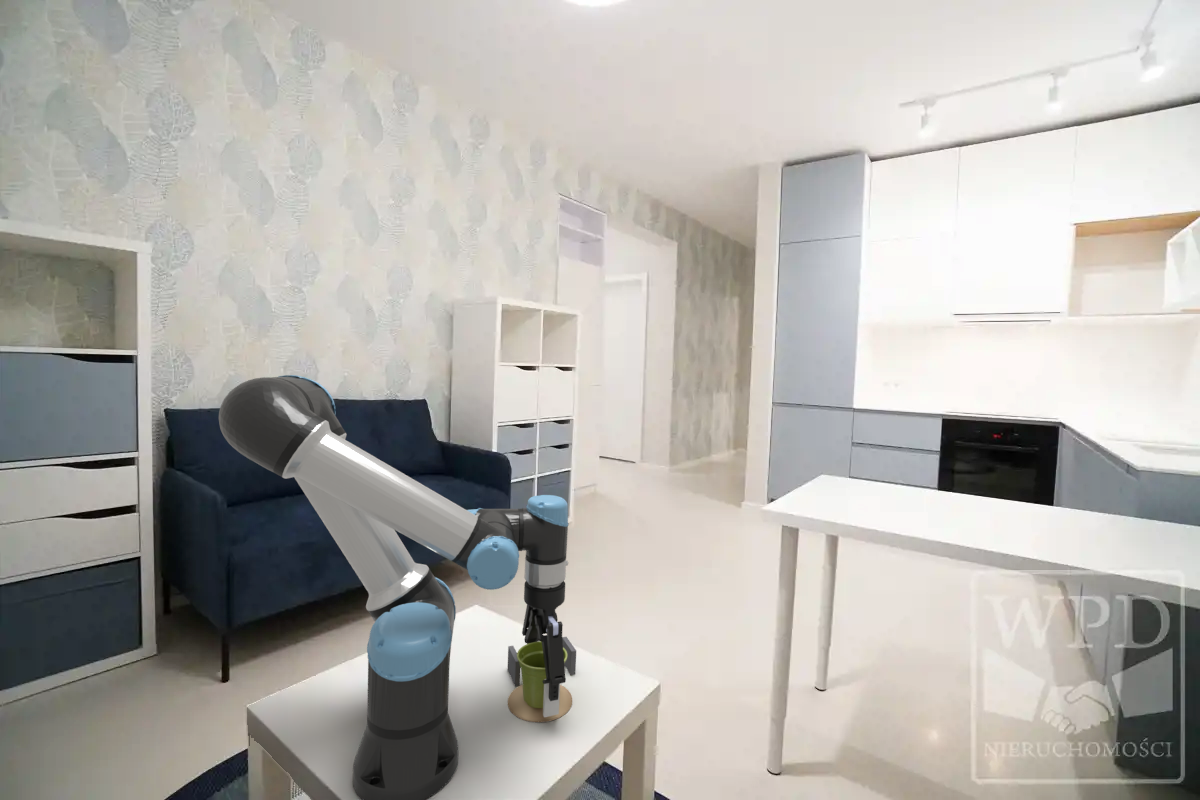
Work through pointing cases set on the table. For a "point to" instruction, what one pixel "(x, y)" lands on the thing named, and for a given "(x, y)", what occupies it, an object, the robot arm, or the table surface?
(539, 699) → the plant pot
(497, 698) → the table surface
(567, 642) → the twin grey plates
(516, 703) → the coaster
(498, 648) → the table surface
